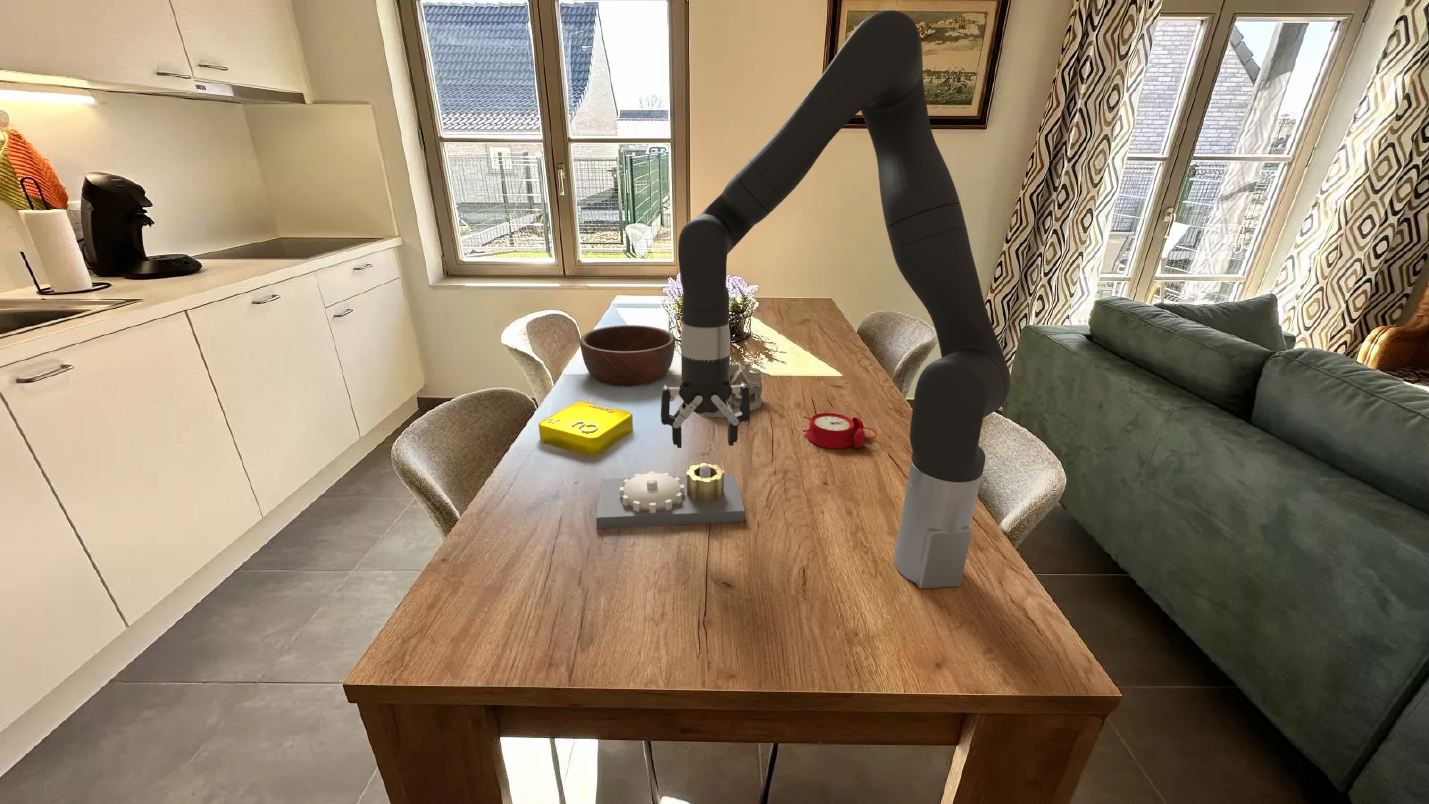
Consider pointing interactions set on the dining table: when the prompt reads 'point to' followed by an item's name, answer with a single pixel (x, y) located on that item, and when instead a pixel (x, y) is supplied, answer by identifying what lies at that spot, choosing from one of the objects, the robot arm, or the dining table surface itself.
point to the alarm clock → (836, 431)
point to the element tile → (586, 428)
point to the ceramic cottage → (735, 378)
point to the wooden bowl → (628, 354)
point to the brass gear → (705, 483)
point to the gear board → (664, 501)
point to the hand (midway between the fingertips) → (705, 444)
